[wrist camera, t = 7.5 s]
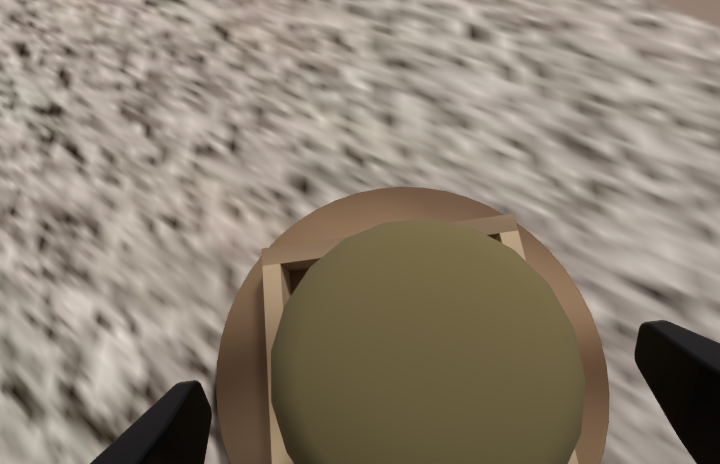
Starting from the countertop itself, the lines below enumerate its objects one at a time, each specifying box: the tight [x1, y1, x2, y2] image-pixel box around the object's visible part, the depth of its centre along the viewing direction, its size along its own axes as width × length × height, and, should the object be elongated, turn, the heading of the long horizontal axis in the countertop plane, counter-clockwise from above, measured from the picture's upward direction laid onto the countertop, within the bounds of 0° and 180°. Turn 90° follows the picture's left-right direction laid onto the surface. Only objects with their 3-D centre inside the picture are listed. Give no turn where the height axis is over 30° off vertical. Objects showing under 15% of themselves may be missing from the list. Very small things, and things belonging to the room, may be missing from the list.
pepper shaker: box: [271, 219, 586, 464], centre depth 11 cm, size 6×6×11 cm
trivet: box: [216, 187, 609, 464], centre depth 16 cm, size 15×15×3 cm
